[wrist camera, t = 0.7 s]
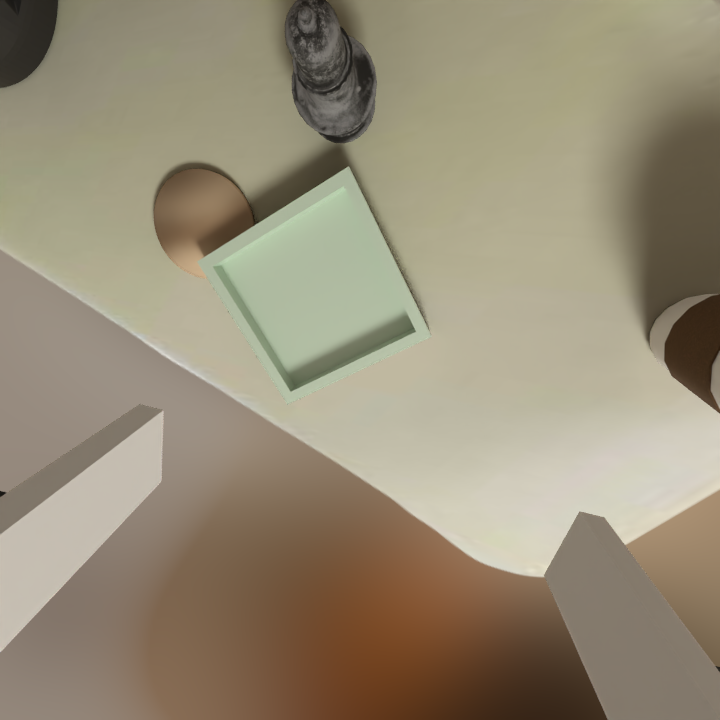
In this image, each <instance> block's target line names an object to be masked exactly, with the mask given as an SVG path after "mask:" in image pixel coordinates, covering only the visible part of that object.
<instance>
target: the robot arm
mask: <svg viewBox="0 0 720 720" xmlns="http://www.w3.org/2000/svg"><path fill="white" fill-rule="evenodd" d="M57 3H58V0H0V88H2V87H7V86H11V85H13V84H16V83H18V82H20V81H22V80H23V79H25V78H26V77H28V76H29V75H30V74H31V73H32V72H33V71H34V70H35V69H36V68H37V67H38V65H39V64H40V63H41V61H42V60H43V58H44V56H45V55H46V53H47V51H48V48H49V46H50V43H51V40H52V37H53V34H54V30H55V24H56V17H57ZM163 413H164V411H163V410H160V409H157V408H153V407H149V406H144V405H140V404H139V405H138V406H136V407H135V408H133V409H132V410H130V411H129V412H127V413H126V414H124V415H123V416H121V417H120V418H118V419H117V420H116V421H114V422H112V423H111V424H109V425H108V426H106V427H105V428H103V429H102V430H100V431H99V432H97V433H96V434H94V435H93V436H91V437H90V438H88V439H87V440H85V441H84V442H82V443H81V444H80V445H78V446H76V447H75V448H73V449H72V450H70V451H69V452H68V453H66V454H64V455H63V456H61V457H60V458H58V459H57V460H55V461H54V462H52V463H51V464H49V465H48V466H46V467H45V468H43V469H42V470H40V471H39V472H37V473H36V474H34V475H33V476H31V477H30V478H28V479H27V480H25V481H24V482H23V483H21V484H19V485H18V486H16V487H15V488H13V489H12V490H10V491H9V492H7V493H6V492H1V491H0V652H1V651H2V650H3V649H4V648H5V647H6V646H7V645H8V644H9V642H10V641H11V640H12V639H13V638H14V637H15V636H16V635H17V634H18V633H19V632H20V631H21V630H22V629H23V628H24V626H25V625H26V624H27V623H28V622H29V621H30V620H31V619H32V618H33V617H34V616H35V615H36V614H37V613H38V612H39V611H40V609H42V607H43V606H44V605H45V604H46V603H47V602H48V601H49V600H50V599H51V598H52V597H53V596H54V595H55V594H56V593H57V592H58V590H59V589H60V588H61V587H62V586H63V585H64V584H65V583H66V582H67V581H68V580H69V579H70V578H71V577H72V576H73V575H74V573H75V572H76V571H77V570H78V569H79V568H80V567H81V566H82V565H83V564H84V563H85V562H86V561H87V560H88V558H89V557H90V556H91V555H92V554H93V553H94V552H95V551H96V550H97V549H98V548H99V547H100V546H101V545H102V544H103V543H104V542H105V541H106V540H107V539H108V537H109V536H110V535H111V534H112V533H113V532H114V531H115V530H116V529H117V528H118V527H119V526H120V525H121V524H122V523H123V521H124V520H125V519H126V518H127V517H128V516H129V515H130V514H131V513H132V512H133V511H134V510H135V509H136V508H137V507H138V505H140V503H141V502H142V501H143V500H144V499H145V498H146V497H147V496H148V495H149V494H150V493H151V492H152V491H153V490H154V489H155V488H156V486H157V485H158V484H159V483H160V482H161V476H162V444H163ZM544 577H545V579H546V581H547V583H548V586H549V588H550V590H551V592H552V595H553V597H554V599H555V601H556V604H557V606H558V608H559V610H560V613H561V615H562V617H563V619H564V622H565V624H566V626H567V628H568V630H569V633H570V635H571V637H572V640H573V642H574V644H575V646H576V649H577V651H578V653H579V656H580V658H581V660H582V662H583V665H584V667H585V669H586V671H587V674H588V676H589V678H590V680H591V683H592V685H593V687H594V689H595V692H596V694H597V696H598V698H599V701H600V703H601V705H602V707H603V710H604V712H605V714H606V717H607V719H608V720H720V667H717V666H715V665H714V664H713V663H712V661H711V660H710V659H709V657H708V656H707V654H706V653H705V652H704V651H703V649H702V648H701V646H700V645H699V644H698V643H697V641H696V640H695V638H694V637H693V636H692V634H691V633H690V632H689V630H688V629H687V628H686V626H685V625H684V624H683V622H682V621H681V620H680V618H679V617H678V616H677V614H676V613H675V612H674V611H673V609H672V608H671V606H670V605H669V604H668V602H667V601H666V600H665V598H664V597H663V596H662V594H661V593H660V592H659V590H658V589H657V588H656V586H655V585H654V584H653V582H652V581H651V579H650V578H649V577H648V576H647V574H646V573H645V571H644V570H643V569H642V567H641V566H640V565H639V563H638V562H637V561H636V559H635V558H634V557H633V555H632V554H631V553H630V551H629V550H628V549H627V547H626V546H625V545H624V543H623V542H622V541H621V539H620V538H619V537H618V535H617V534H616V533H615V531H614V530H613V529H612V527H611V526H610V525H609V523H608V522H607V521H606V519H605V518H604V517H600V516H596V515H592V514H588V513H584V512H579V514H578V515H577V517H576V519H575V521H574V522H573V524H572V526H571V528H570V530H569V531H568V533H567V535H566V537H565V539H564V540H563V542H562V544H561V546H560V548H559V549H558V551H557V553H556V555H555V556H554V558H553V560H552V562H551V564H550V565H549V567H548V569H547V571H546V573H545V574H544Z"/></svg>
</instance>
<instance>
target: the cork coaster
mask: <svg viewBox="0 0 720 720" xmlns="http://www.w3.org/2000/svg"><path fill="white" fill-rule="evenodd" d="M154 224H155V229H156V233H157V236H158V239H159V242H160V244H161V246H162V248H163V249H164V251H165V253H166V254H167V255H168V257H169V258H170V259H171V260H172V261H173V262H174V263H175V264H176V265H177V266H178V267H180V268H181V269H182V270H184V271H186V272H187V273H189V274H192V275H194V276H197V277H201V278H207V277H206V275H205V274H204V272H203V271H202V269H201V267H200V266H199V264H198V263H197V261H199V260H200V259H202V258H204V257H205V256H207V255H208V254H210V253H212V252H213V251H215V250H216V249H218V248H219V247H221V246H223V245H224V244H226V243H227V242H229V241H231V240H232V239H234V238H235V237H237V236H239V235H240V234H242V233H243V232H245V231H247V230H248V229H250V228H251V227H253V226H254V225H255V221H254V217H253V213H252V210H251V208H250V205H249V203H248V201H247V199H246V198H245V196H244V195H243V193H242V192H241V191H240V190H239V188H238V187H237V186H236V185H235V184H233V183H232V182H231V181H230V180H228V179H227V178H225V177H224V176H222V175H220V174H217V173H215V172H212V171H209V170H205V169H188V170H184V171H182V172H179V173H177V174H175V175H174V176H172V177H171V178H170V179H169V180H168V181H167V182H166V183H165V184H164V185H163V187H162V188H161V190H160V192H159V194H158V196H157V199H156V203H155V208H154Z"/></svg>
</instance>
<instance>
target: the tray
mask: <svg viewBox="0 0 720 720" xmlns="http://www.w3.org/2000/svg"><path fill="white" fill-rule="evenodd" d="M197 263H198V264H199V266H200V267H201V269H202V271H203V272H204V274H205V275H206V277H207V278H208V280H209V282H210V283H211V285H212V286H213V288H214V289H215V291H216V293H217V294H218V296H219V297H220V299H221V301H222V302H223V304H224V305H225V307H226V308H227V310H228V312H229V313H230V315H231V316H232V318H233V319H234V321H235V323H236V324H237V326H238V327H239V329H240V331H241V332H242V334H243V335H244V337H245V338H246V340H247V342H248V343H249V345H250V346H251V348H252V349H253V351H254V353H255V354H256V356H257V357H258V359H259V361H260V362H261V364H262V365H263V367H264V368H265V370H266V372H267V373H268V375H269V376H270V378H271V379H272V381H273V383H274V384H275V386H276V387H277V389H278V391H279V392H280V394H281V395H282V397H283V398H284V400H285V402H286V403H287V405H288V404H290V403H292V402H294V401H296V400H298V399H301V398H303V397H305V396H307V395H309V394H311V393H313V392H315V391H317V390H320V389H322V388H324V387H326V386H328V385H330V384H332V383H334V382H337V381H339V380H341V379H343V378H345V377H347V376H349V375H351V374H354V373H356V372H358V371H360V370H362V369H364V368H366V367H368V366H371V365H373V364H375V363H377V362H379V361H381V360H383V359H385V358H388V357H390V356H392V355H394V354H396V353H398V352H400V351H402V350H404V349H407V348H409V347H411V346H413V345H415V344H417V343H419V342H421V341H424V340H426V339H428V338H430V337H432V336H431V333H430V331H429V329H428V327H427V325H426V322H425V320H424V318H423V316H422V314H421V312H420V310H419V308H418V306H417V304H416V302H415V300H414V298H413V296H412V294H411V292H410V290H409V288H408V286H407V283H406V281H405V279H404V277H403V275H402V273H401V271H400V269H399V267H398V265H397V263H396V261H395V259H394V257H393V255H392V253H391V251H390V249H389V246H388V244H387V242H386V240H385V238H384V236H383V234H382V232H381V230H380V228H379V226H378V224H377V222H376V220H375V218H374V216H373V214H372V212H371V210H370V207H369V205H368V203H367V201H366V199H365V197H364V195H363V193H362V191H361V189H360V187H359V185H358V183H357V181H356V179H355V177H354V175H353V173H352V171H351V169H350V168H349V166H348V167H347V168H345V169H344V170H342V171H340V172H339V173H337V174H336V175H334V176H332V177H331V178H329V179H328V180H326V181H324V182H323V183H321V184H320V185H318V186H317V187H315V188H313V189H312V190H310V191H309V192H307V193H305V194H304V195H302V196H301V197H299V198H297V199H296V200H294V201H293V202H291V203H289V204H288V205H286V206H285V207H283V208H282V209H280V210H278V211H277V212H275V213H274V214H272V215H270V216H269V217H267V218H266V219H264V220H262V221H261V222H259V223H258V224H256V225H254V226H253V227H251V228H250V229H248V230H247V231H245V232H243V233H242V234H240V235H239V236H237V237H235V238H234V239H232V240H231V241H229V242H227V243H226V244H224V245H223V246H221V247H219V248H218V249H216V250H215V251H213V252H212V253H210V254H208V255H207V256H205V257H204V258H202V259H200V260H199V261H197Z"/></svg>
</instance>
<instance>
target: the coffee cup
mask: <svg viewBox="0 0 720 720" xmlns="http://www.w3.org/2000/svg"><path fill="white" fill-rule="evenodd" d="M650 348H651V351H652V352H653V354H654V356H655V358H656V360H657V362H658V363H660V364H661V365H662V366H663V367H665V368H666V369H667V370H669V371H670V373H671V375H672V377H674V378H675V379H676V380H678V381H679V382H680V383H681V384H683V385H684V386H685V387H686V388H688V389H689V390H690V391H692V392H693V393H694V394H695V395H697V396H698V397H699V398H701V399H702V400H703V401H704V402H706V403H707V404H708V405H710V406H711V407H712V408H713V409H715V410H716V411H717V412H719V413H720V294H704V295H699V296H694V297H688V298H686V299H683V300H681V301H679V302H677V303H675V304H673V305H672V306H670V307H668V308H666V309H665V310H664V311H663V313H662V314H661V315H660V316H659V317H658V318H657V319H656V320H655V322H654V324H653V327H652V329H651V331H650Z"/></svg>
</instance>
